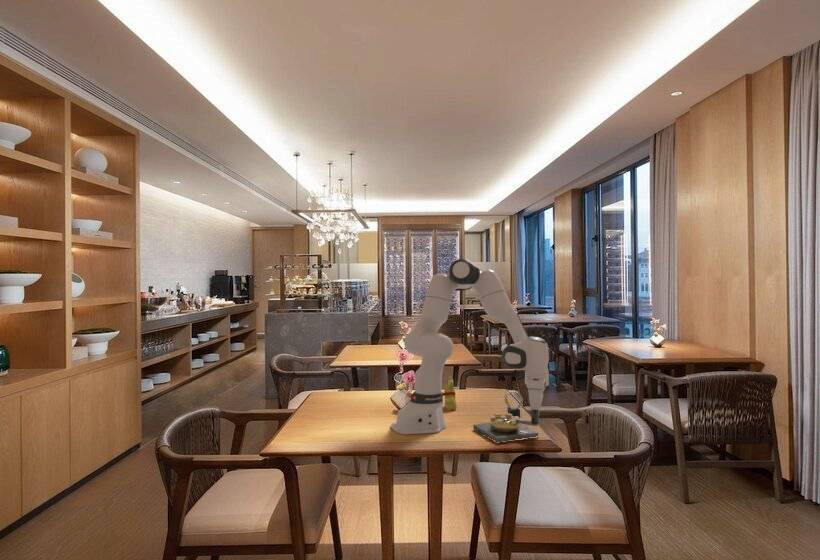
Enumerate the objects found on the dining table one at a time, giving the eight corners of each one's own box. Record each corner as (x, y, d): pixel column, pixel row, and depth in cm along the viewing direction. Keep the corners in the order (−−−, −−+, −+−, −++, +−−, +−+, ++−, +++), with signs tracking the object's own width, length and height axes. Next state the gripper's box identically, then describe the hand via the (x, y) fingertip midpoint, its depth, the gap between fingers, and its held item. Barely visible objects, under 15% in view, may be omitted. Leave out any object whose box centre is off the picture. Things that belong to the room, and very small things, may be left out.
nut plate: (497, 443, 174) (497, 437, 174) (473, 429, 191) (473, 424, 191) (538, 437, 181) (538, 431, 181) (511, 424, 198) (511, 419, 198)
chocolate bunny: (452, 404, 230) (452, 373, 230) (458, 410, 219) (458, 378, 219) (438, 405, 229) (438, 374, 229) (443, 411, 218) (443, 378, 218)
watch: (524, 417, 209) (524, 392, 209) (506, 417, 208) (506, 392, 208) (521, 413, 214) (521, 389, 214) (503, 413, 214) (503, 389, 214)
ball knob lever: (486, 429, 184) (486, 406, 184) (497, 421, 194) (496, 400, 194) (533, 437, 174) (533, 414, 174) (542, 429, 184) (542, 407, 184)
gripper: (530, 373, 193) (530, 407, 193) (526, 384, 174) (526, 422, 174) (546, 374, 191) (546, 409, 191) (544, 385, 172) (544, 423, 172)
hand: (536, 415), depth 183 cm, fingers closed
